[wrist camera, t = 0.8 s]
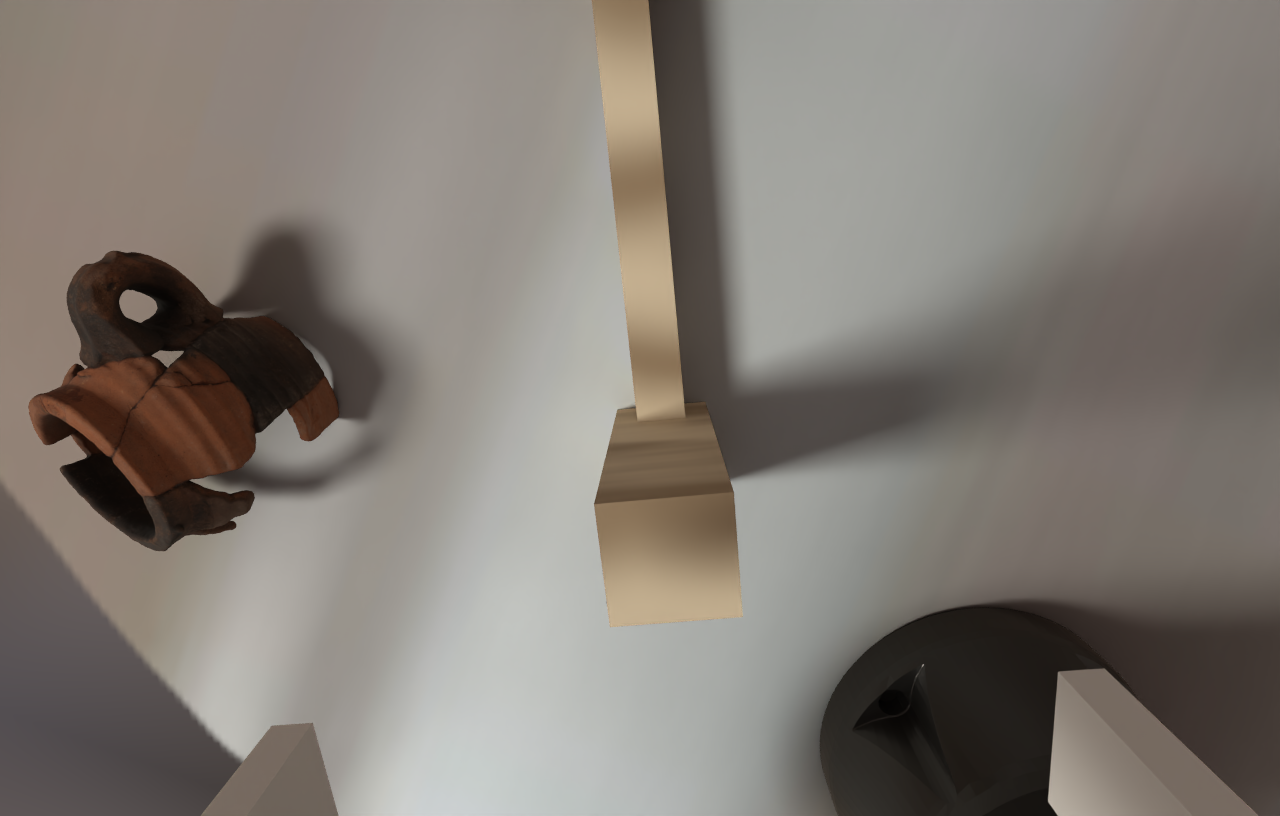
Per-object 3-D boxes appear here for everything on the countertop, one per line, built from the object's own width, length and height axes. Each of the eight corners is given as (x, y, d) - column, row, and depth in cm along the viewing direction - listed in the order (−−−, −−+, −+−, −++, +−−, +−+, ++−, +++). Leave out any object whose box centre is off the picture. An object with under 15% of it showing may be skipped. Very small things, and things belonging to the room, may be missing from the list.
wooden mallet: (754, 480, 29) (810, 611, 19) (584, 495, 30) (544, 632, 19) (718, -89, 24) (768, -360, 13) (510, -61, 24) (397, -303, 14)
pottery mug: (381, 467, 30) (222, 590, 24) (261, 446, 35) (100, 545, 29) (270, 215, 25) (23, 292, 18) (142, 227, 29) (-92, 292, 23)
